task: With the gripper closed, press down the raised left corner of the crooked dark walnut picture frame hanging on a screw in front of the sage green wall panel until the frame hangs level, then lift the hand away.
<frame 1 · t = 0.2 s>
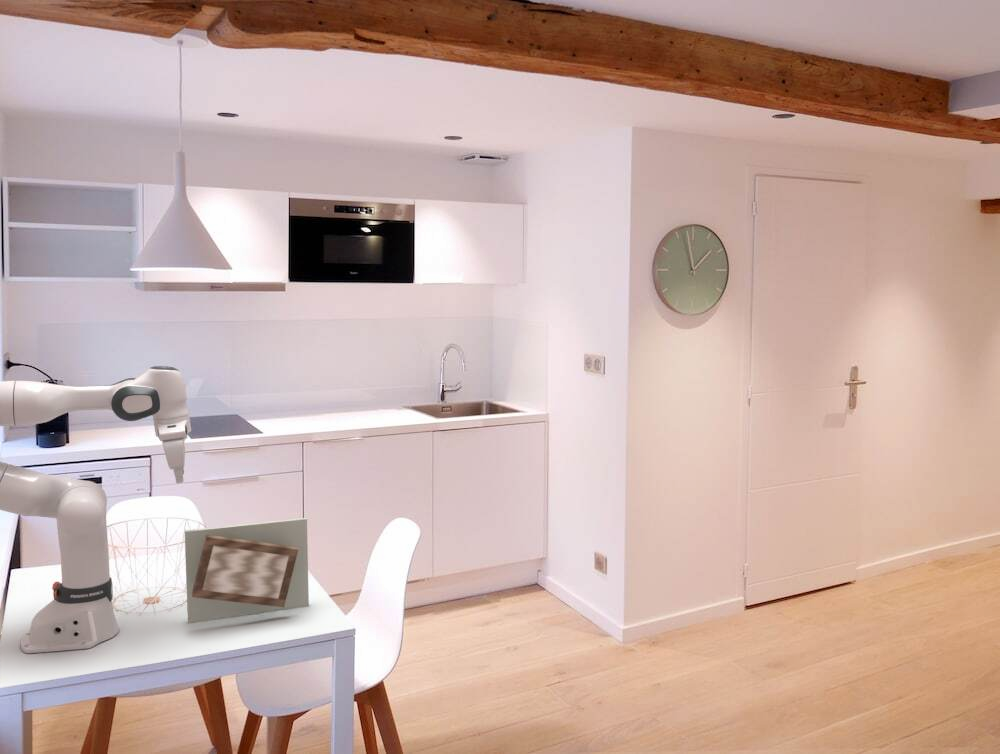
hand: (180, 478, 228), 39 cm above the table, tool pointing down, fingers open, 8 cm apart
sage wall panel: (249, 613, 238), on the table
walnut frame: (245, 571, 230), point 14 cm above the table, hinge at 15.0°
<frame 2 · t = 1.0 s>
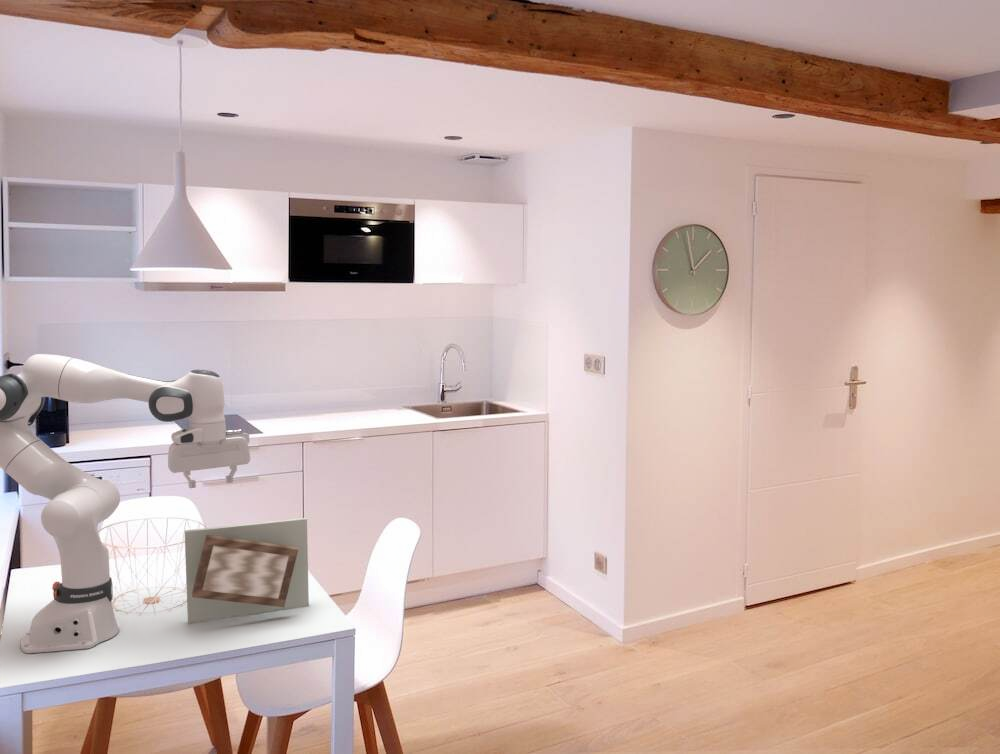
hand: (211, 485, 226), 38 cm above the table, tool pointing down, fingers open, 8 cm apart
nothing on the table moved.
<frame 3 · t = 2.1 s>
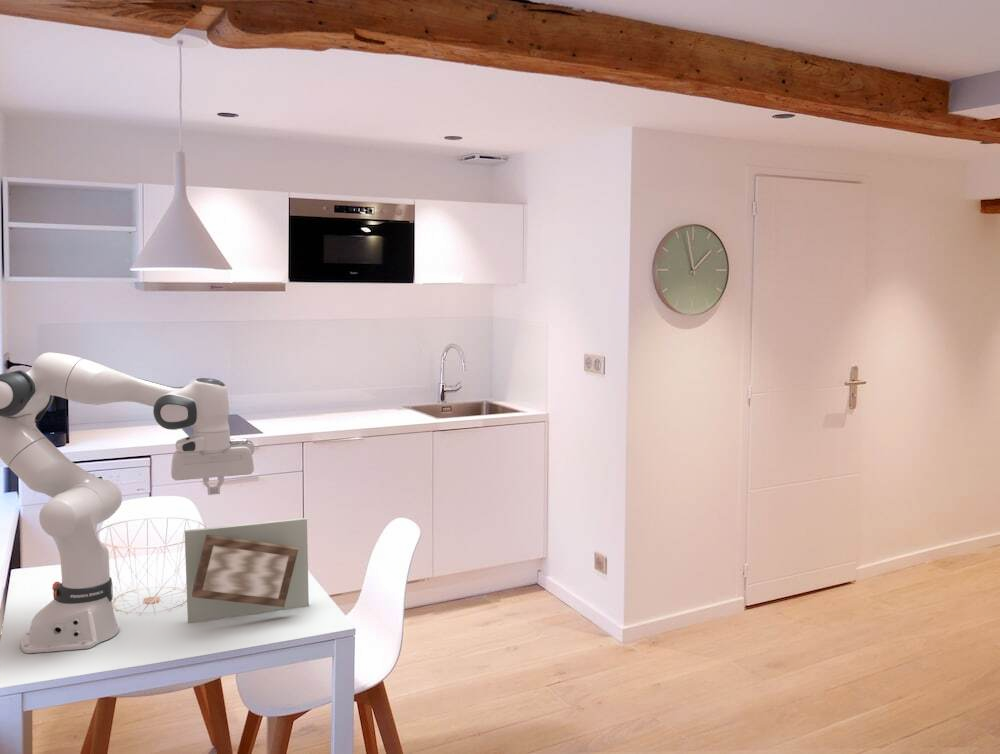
hand: (213, 494, 225), 36 cm above the table, tool pointing down, fingers closed
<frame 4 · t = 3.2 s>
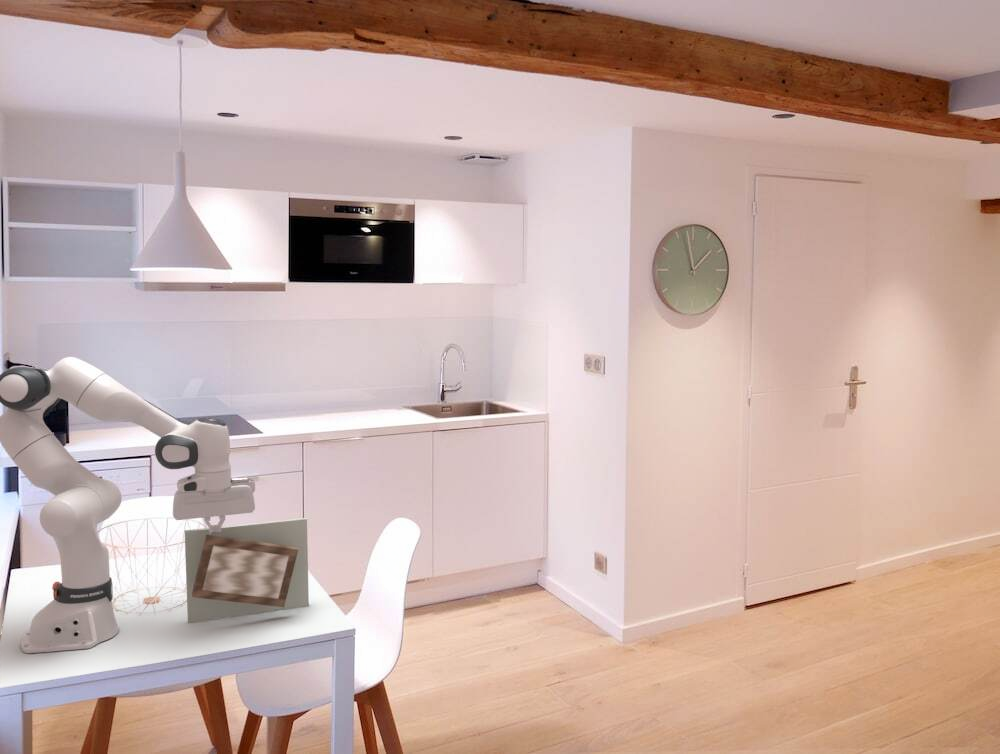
hand: (215, 532, 226), 26 cm above the table, tool pointing down, fingers closed
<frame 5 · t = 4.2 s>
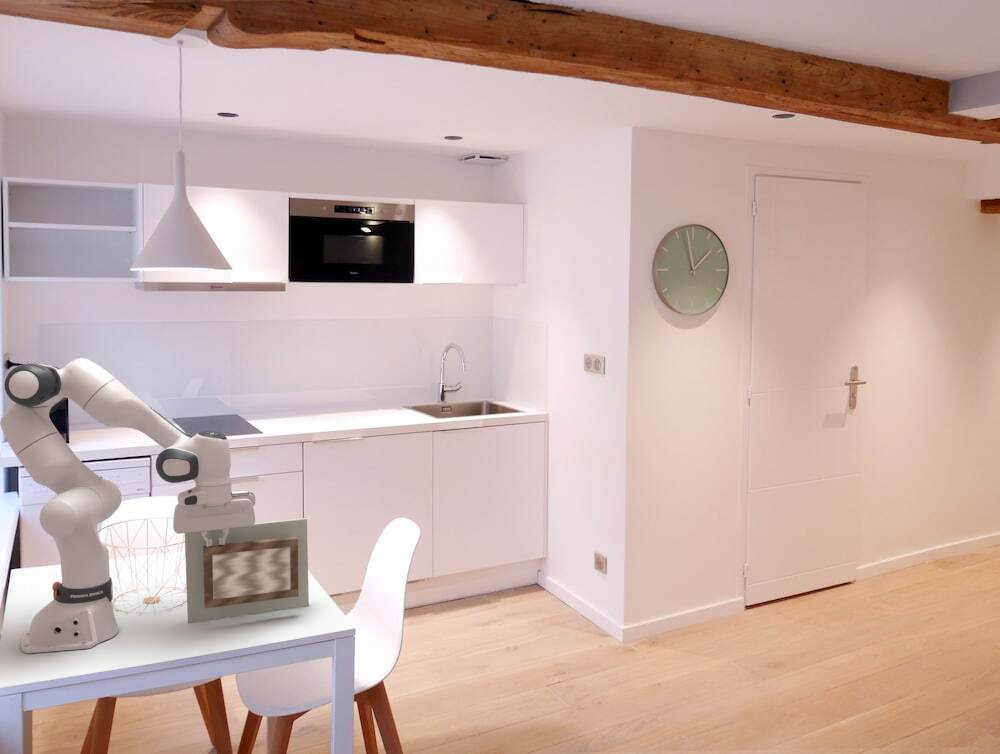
hand: (215, 545, 226), 22 cm above the table, tool pointing down, fingers closed on walnut frame, 2 cm apart
walnut frame: (251, 571, 231), point 14 cm above the table, hinge at 0.6°, touching gripper
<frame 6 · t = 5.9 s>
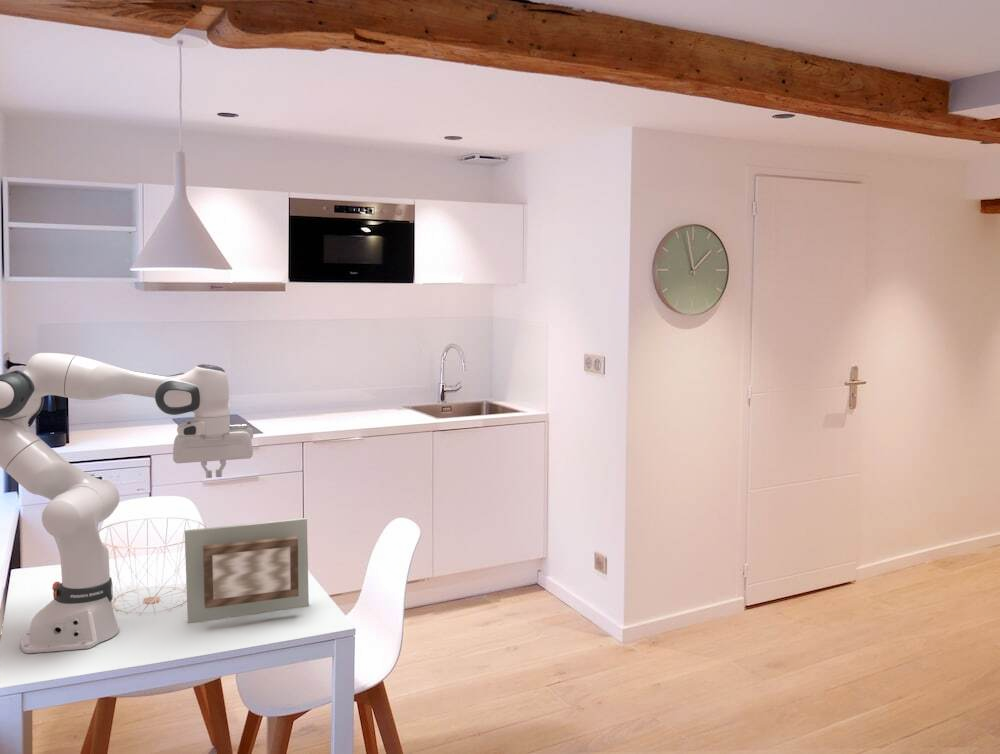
hand: (213, 477, 231), 39 cm above the table, tool pointing down, fingers closed
walnut frame: (251, 571, 231), point 14 cm above the table, hinge at 0.5°
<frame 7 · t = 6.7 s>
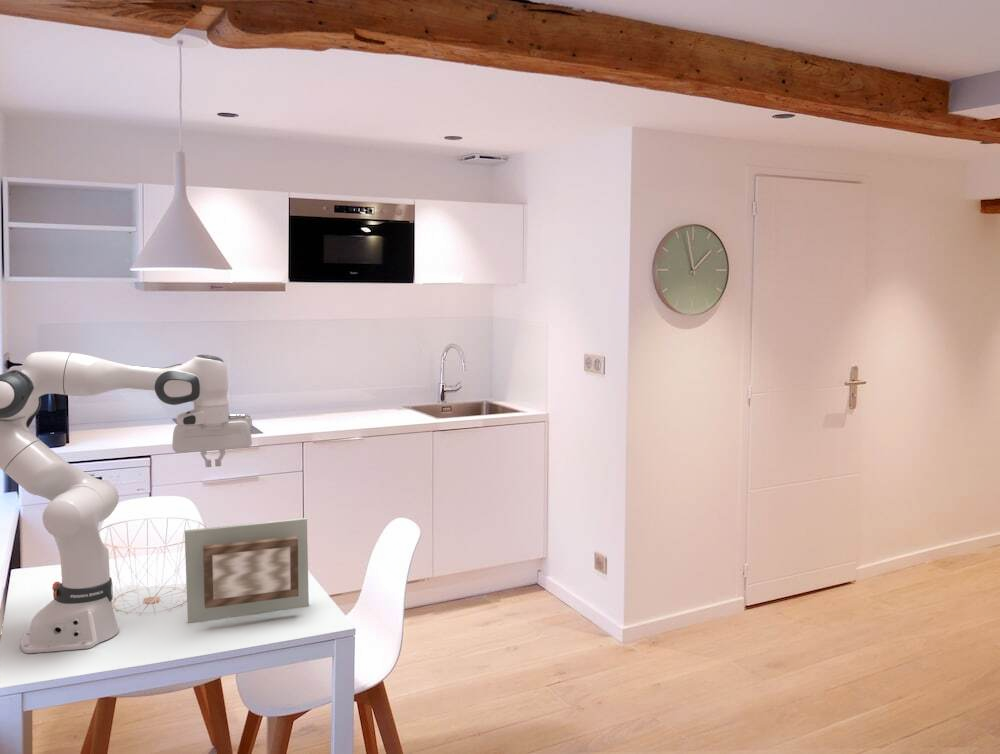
hand: (213, 466, 234), 41 cm above the table, tool pointing down, fingers closed
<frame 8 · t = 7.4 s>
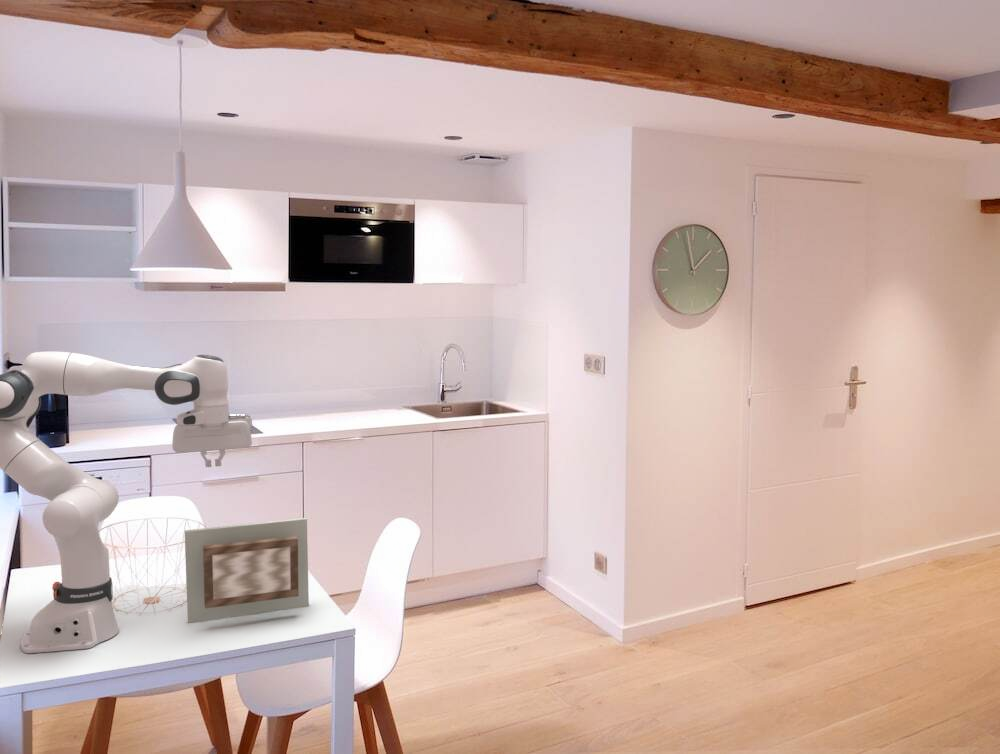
hand: (213, 466, 234), 41 cm above the table, tool pointing down, fingers closed
at the end: walnut frame at +0° (first picture: +15°) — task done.
